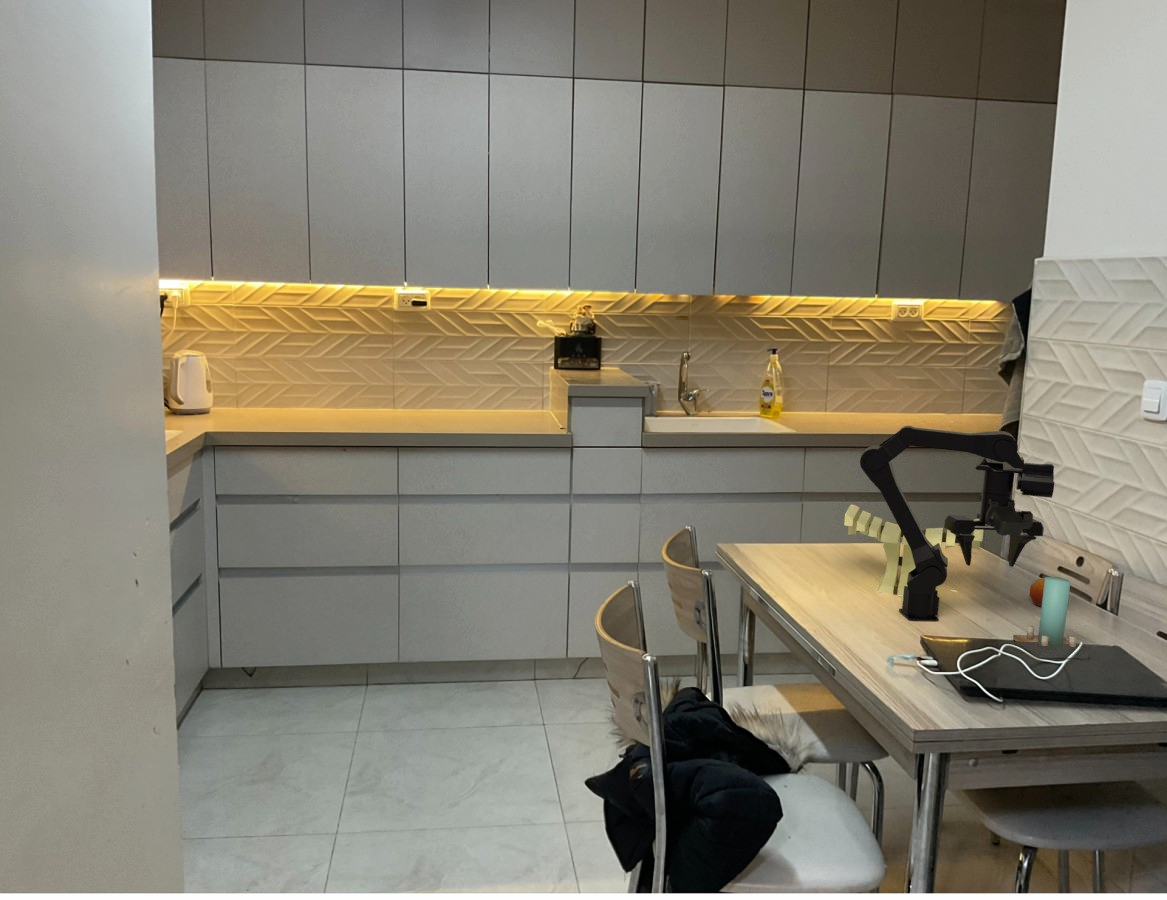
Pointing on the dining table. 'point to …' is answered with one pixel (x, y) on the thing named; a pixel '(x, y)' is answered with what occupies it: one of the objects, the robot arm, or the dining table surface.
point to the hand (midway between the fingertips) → (989, 565)
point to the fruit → (1037, 591)
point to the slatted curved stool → (898, 545)
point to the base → (1044, 642)
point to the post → (1054, 610)
